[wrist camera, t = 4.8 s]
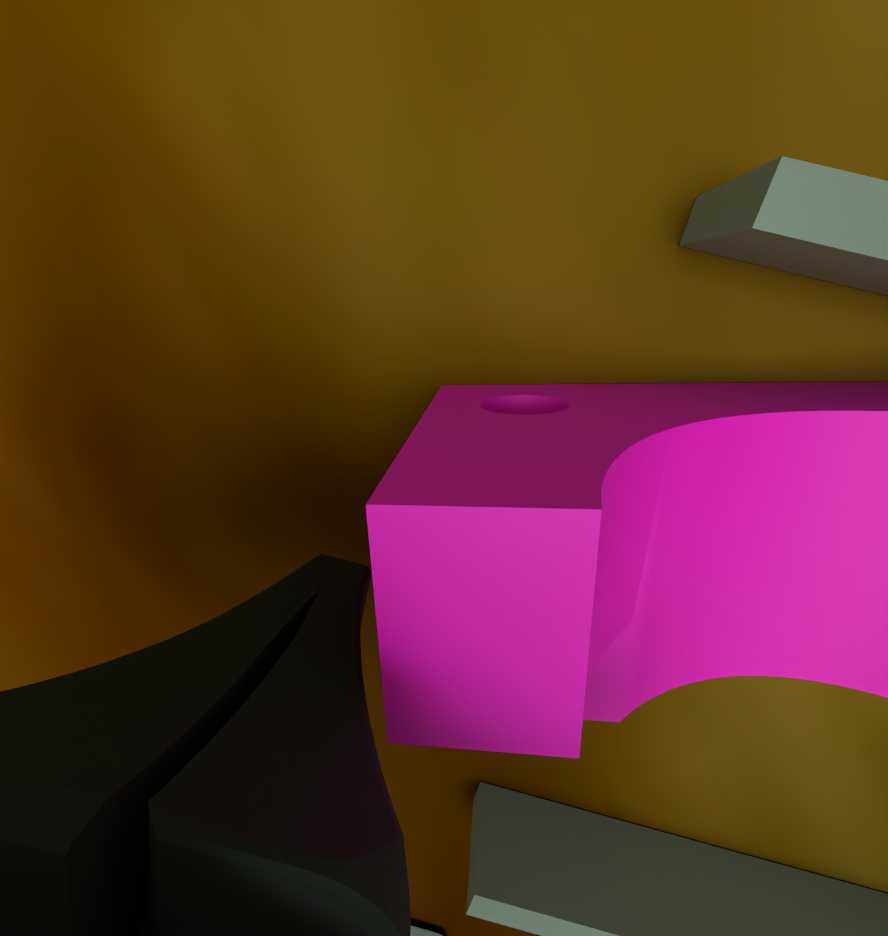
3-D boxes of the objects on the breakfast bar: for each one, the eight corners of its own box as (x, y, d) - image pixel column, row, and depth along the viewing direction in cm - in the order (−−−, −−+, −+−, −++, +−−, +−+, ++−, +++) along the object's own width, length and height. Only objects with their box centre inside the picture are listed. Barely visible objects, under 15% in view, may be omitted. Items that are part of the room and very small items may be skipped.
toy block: (448, 589, 15) (398, 858, 8) (441, 385, 13) (365, 504, 6) (1003, 612, 13) (1579, 987, 6) (1105, 380, 11) (2180, 542, 4)
